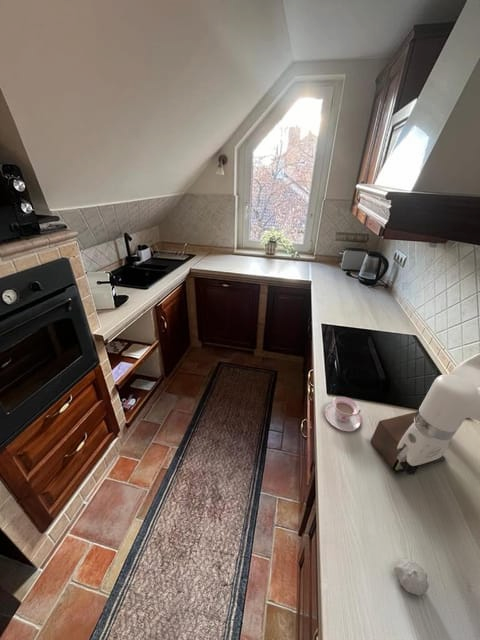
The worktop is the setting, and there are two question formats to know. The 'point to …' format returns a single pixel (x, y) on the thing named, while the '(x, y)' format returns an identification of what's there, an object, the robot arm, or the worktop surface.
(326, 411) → the teacup
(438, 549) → the worktop surface
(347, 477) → the worktop surface
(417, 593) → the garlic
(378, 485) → the worktop surface
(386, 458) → the sideboard
